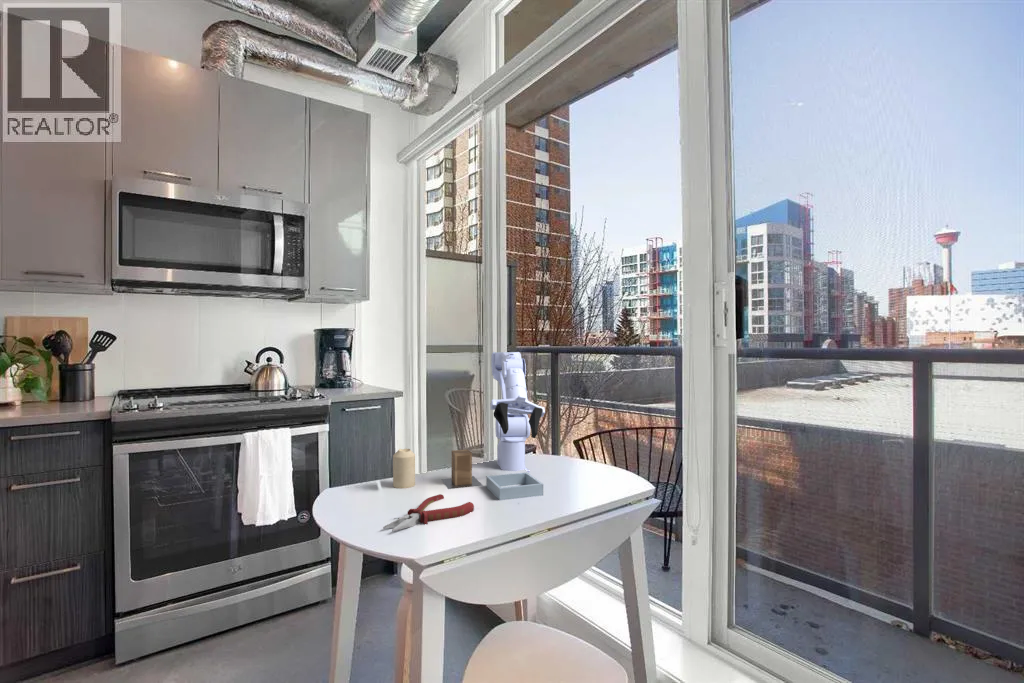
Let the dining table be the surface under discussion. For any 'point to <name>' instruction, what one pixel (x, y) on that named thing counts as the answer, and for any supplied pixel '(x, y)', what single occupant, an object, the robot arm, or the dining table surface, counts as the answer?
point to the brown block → (461, 467)
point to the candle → (404, 469)
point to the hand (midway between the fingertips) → (520, 433)
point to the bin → (514, 492)
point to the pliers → (429, 514)
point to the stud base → (451, 485)
